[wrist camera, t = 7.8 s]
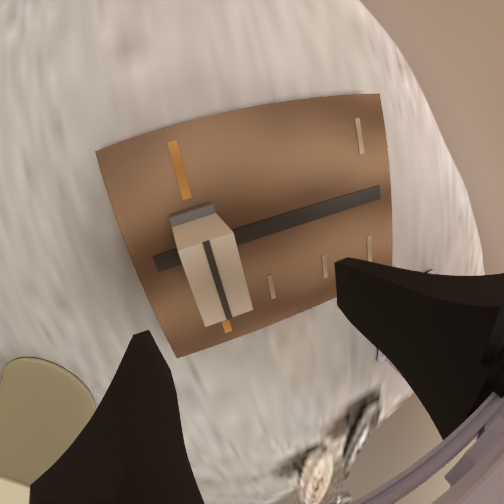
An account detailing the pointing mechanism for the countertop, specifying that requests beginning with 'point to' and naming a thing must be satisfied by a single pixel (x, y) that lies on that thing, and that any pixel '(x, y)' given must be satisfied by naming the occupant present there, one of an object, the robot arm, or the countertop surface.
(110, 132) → the countertop surface
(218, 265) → the fader
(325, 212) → the board
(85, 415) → the can
